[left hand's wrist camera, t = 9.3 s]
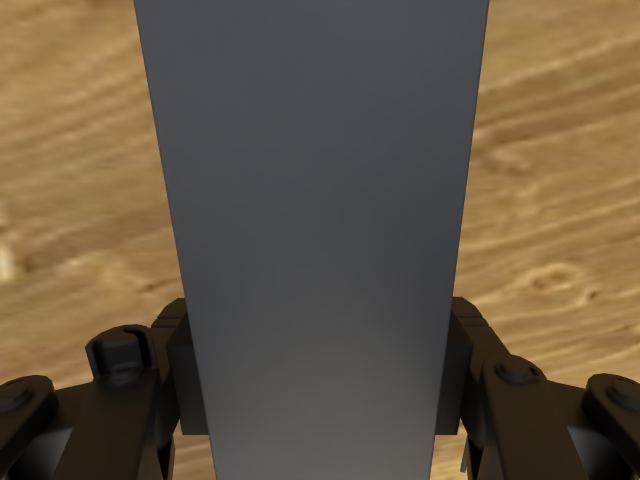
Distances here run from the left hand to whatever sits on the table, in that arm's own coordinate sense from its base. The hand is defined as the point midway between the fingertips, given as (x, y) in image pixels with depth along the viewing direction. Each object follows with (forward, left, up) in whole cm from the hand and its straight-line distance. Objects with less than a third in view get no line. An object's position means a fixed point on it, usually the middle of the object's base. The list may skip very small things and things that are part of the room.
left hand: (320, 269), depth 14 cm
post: (+19, -13, -1) cm, 23 cm away
